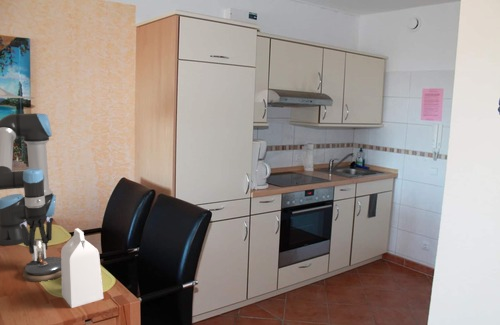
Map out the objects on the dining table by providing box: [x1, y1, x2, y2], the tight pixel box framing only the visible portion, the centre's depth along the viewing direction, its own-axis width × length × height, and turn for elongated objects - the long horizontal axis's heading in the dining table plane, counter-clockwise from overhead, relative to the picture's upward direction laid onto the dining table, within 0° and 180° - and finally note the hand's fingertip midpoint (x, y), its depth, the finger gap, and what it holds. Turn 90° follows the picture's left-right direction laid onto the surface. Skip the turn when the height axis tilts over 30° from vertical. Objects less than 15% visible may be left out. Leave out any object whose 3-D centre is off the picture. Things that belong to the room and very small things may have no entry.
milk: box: [60, 227, 104, 309], centre depth 158 cm, size 12×12×26 cm
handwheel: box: [24, 238, 61, 276], centre depth 179 cm, size 15×15×11 cm
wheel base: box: [22, 268, 62, 283], centre depth 180 cm, size 17×17×2 cm
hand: (39, 258), depth 183 cm, fingers closed on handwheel, 3 cm apart
